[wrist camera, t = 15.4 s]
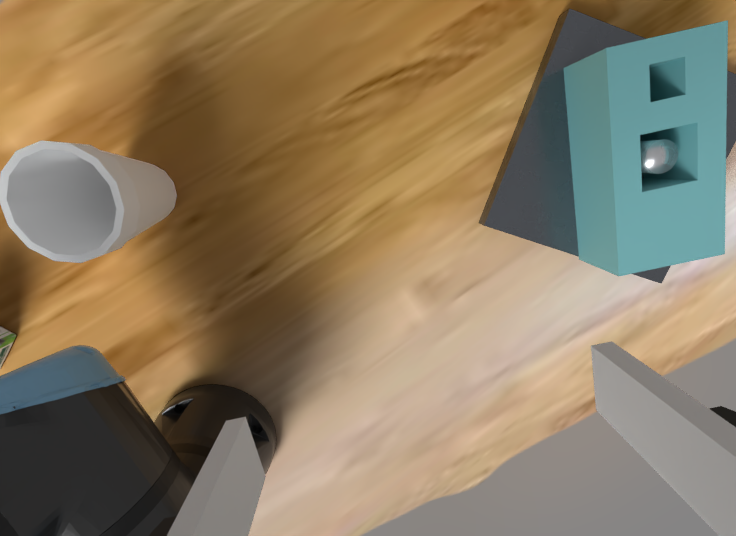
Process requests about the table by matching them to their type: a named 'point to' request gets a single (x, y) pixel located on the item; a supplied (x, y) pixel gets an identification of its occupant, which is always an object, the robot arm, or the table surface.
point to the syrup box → (5, 343)
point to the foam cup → (81, 199)
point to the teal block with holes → (623, 154)
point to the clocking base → (565, 145)
